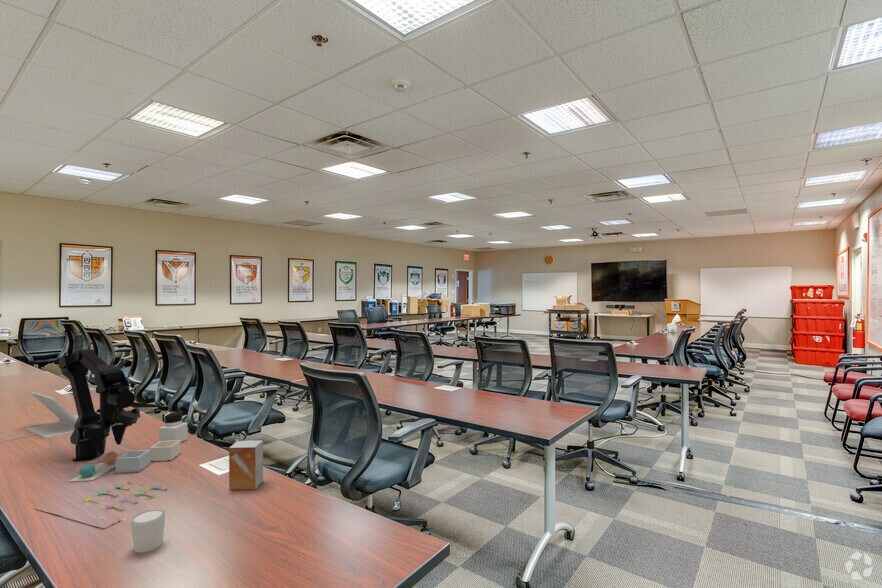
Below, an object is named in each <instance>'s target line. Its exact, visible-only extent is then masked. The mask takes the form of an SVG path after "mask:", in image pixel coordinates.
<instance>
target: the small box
mask: <svg viewBox="0 0 882 588" xmlns="http://www.w3.org/2000/svg"><path fill="white" fill-rule="evenodd" d="M263 481H264V441H263V440H237V441H235V442H234V443H233V444H232V445H231V446H229V448H228V484H229V485H228V488H229V491H235V490H236V491H237V490H257V488H258V487H259V486H260V485H261V484H262V482H263Z"/></svg>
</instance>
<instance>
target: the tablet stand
mask: <svg viewBox="0 0 882 588" xmlns="http://www.w3.org/2000/svg"><path fill="white" fill-rule="evenodd" d="M30 394H31V395H32V396H33V397H35V398H36V400H38V401H39V402H40V403H41V404H42V405H43V406H45V407H46V409H48V410H49V411H50V412H51V413H52V414H53V415H54V416H55V417H57V418H58V419H59V421H56V422H50V423H45V424H41V425H36V426H31V427H27V428H25V431H26V430H28V431H27V432H29V431H30V432H29V433H31V432H32V433H31V434H33V433H35V434H34V435H36V434H37V435H36V436H38V435H39V436H38V437H40V436H41V437H40V438H42V437H44V438H43V439H45V438H49V439H53V438H56V437H62V436H65V435H70V433H71V434H72V433H73V431H74V430H75V426H74V425H75V423H76V421H77V419H78V414H72V413H71V412H70V411H69V410H68V409H66V407H65V406H64V405H63V404H62V403H60V402H59V401H58V400H57V399H56V398H55V397H53V396H49V395H46V394H43V393H39V392H36V391H32V392H30ZM61 435H62V436H61ZM52 437H53V438H52Z"/></svg>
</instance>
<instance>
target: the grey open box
mask: <svg viewBox="0 0 882 588" xmlns="http://www.w3.org/2000/svg"><path fill="white" fill-rule="evenodd" d="M115 460H116V466H115V475H117V474H118V475H119V474H131V473H132V474H133V473H134V474H135V473H140V472H141V470H142V471H143V470H145V467H146V466H147V467H148V466H149V464H150V465H151V464H152V462H151V453H150V449H142V450H141V449H140V450H139V449H138V450H128V451H126V452H124V453H122V454H121V455H118V458H116V459H115ZM147 467H146V468H147Z"/></svg>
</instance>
